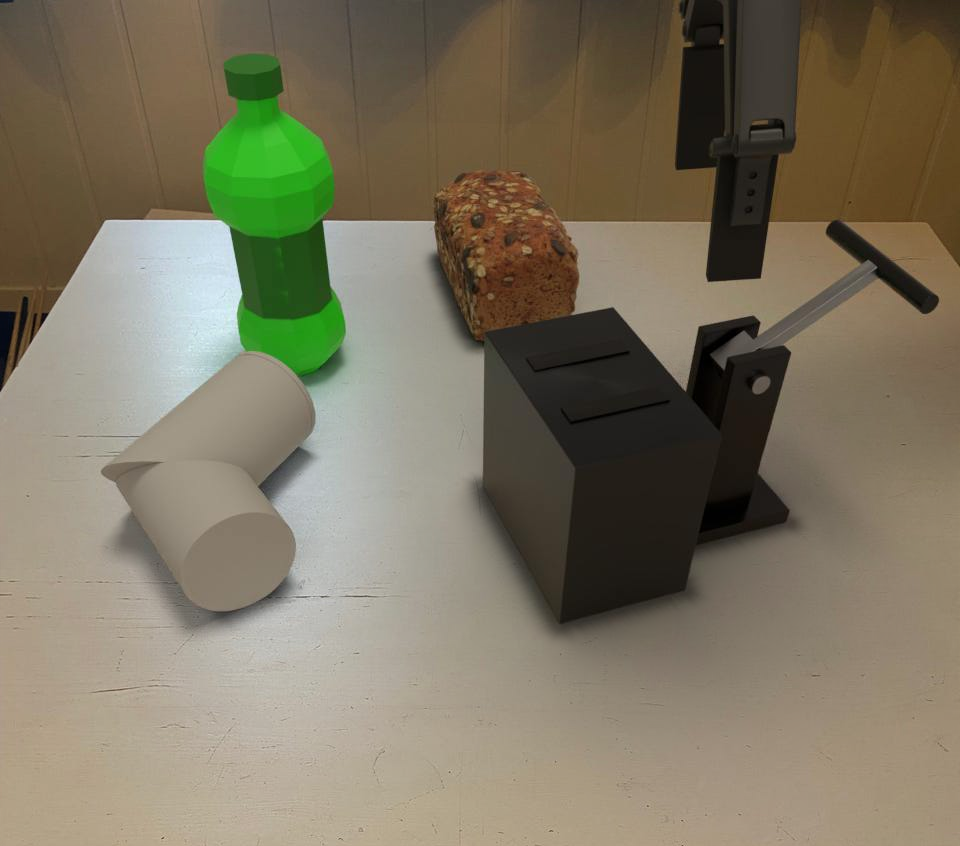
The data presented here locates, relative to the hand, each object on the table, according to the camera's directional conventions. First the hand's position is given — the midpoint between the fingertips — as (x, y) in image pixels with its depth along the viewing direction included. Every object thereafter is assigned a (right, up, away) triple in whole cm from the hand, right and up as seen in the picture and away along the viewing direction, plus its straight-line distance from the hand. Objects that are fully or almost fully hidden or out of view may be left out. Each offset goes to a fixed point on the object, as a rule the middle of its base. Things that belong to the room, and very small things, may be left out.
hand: (713, 217), depth 55 cm
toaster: (-6, -16, +20) cm, 26 cm away
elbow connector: (-32, -14, +22) cm, 41 cm away
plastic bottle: (-30, +2, +36) cm, 47 cm away
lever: (+10, -2, +13) cm, 16 cm away
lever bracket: (+5, -13, +23) cm, 26 cm away
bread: (-11, +11, +44) cm, 46 cm away
